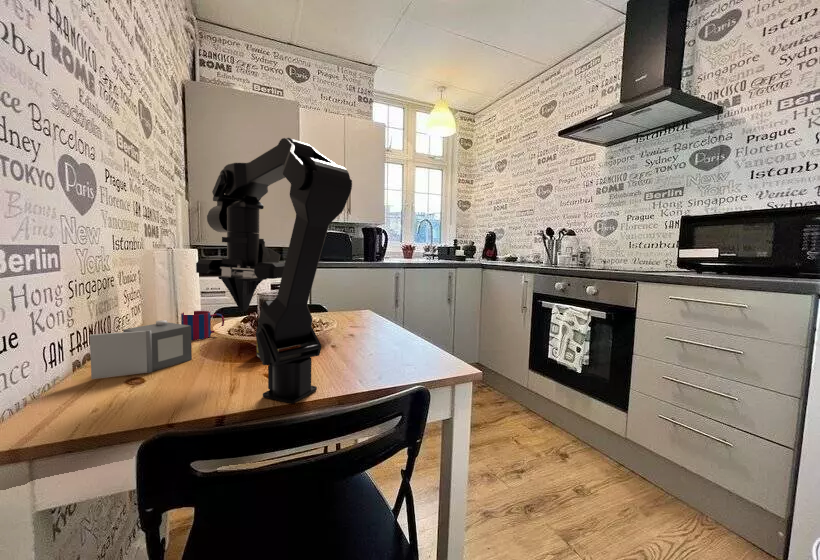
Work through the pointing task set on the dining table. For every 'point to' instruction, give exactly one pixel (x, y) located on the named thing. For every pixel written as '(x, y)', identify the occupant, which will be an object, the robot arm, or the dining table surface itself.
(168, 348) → the camera body
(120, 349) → the side door
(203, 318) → the mug
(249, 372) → the dining table surface
